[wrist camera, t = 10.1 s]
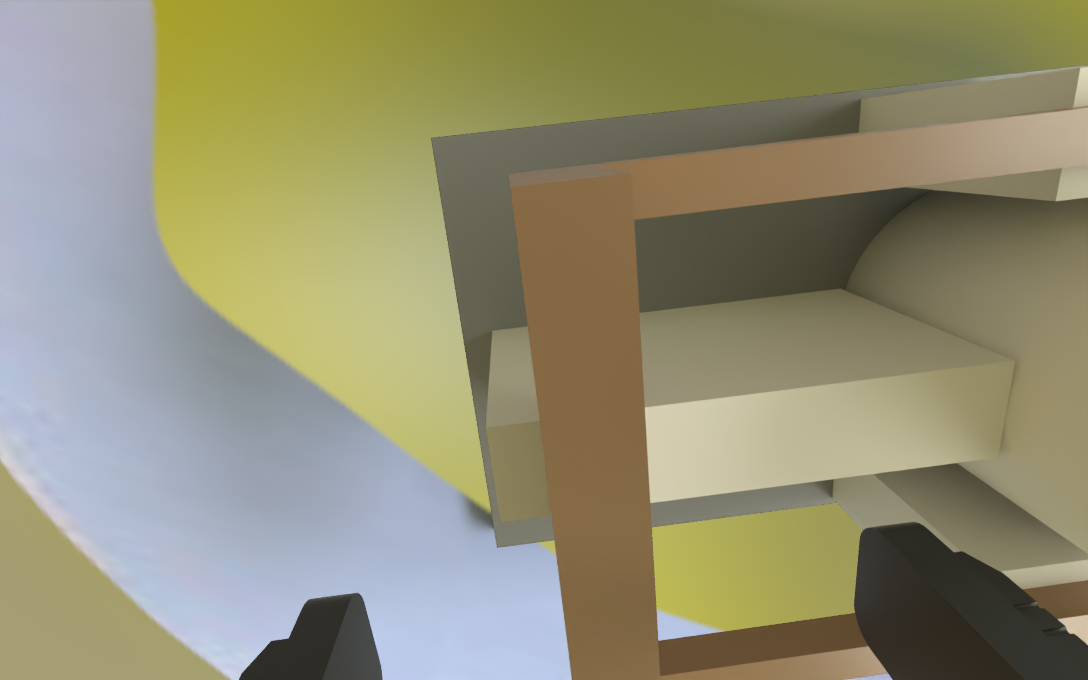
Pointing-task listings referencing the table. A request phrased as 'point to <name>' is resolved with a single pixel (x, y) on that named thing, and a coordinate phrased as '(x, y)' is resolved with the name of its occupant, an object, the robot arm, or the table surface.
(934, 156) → the brown u-shaped frame
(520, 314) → the bracket-mounted cylinder
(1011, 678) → the robot arm
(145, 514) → the table surface
